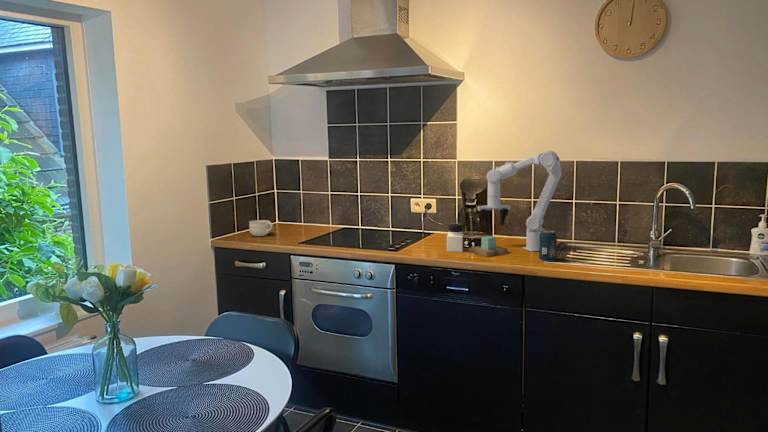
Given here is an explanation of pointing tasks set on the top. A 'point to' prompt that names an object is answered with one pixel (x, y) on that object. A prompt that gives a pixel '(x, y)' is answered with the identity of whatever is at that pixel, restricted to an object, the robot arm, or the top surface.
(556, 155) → the robot arm
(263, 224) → the teacup
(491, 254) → the walnut base
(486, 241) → the teal block
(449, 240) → the medicine bottle
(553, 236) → the soda can
